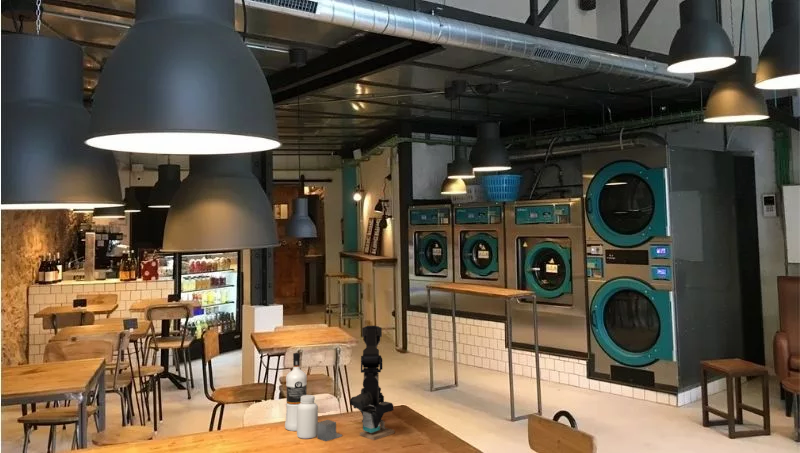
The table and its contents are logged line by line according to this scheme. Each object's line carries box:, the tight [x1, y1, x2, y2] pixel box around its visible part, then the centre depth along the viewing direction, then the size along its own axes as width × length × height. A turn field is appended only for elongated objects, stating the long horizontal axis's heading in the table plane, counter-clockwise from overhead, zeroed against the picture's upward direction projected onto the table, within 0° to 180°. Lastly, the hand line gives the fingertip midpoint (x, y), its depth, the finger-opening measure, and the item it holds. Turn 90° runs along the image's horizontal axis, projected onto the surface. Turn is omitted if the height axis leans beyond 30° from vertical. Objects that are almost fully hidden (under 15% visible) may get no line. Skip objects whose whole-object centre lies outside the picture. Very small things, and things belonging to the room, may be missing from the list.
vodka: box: [284, 352, 308, 432], centre depth 228 cm, size 9×9×30 cm
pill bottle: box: [296, 394, 319, 439], centre depth 218 cm, size 8×8×15 cm
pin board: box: [359, 420, 395, 441], centre depth 218 cm, size 8×11×4 cm
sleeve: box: [362, 409, 381, 433], centre depth 216 cm, size 5×5×7 cm
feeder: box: [316, 419, 343, 442], centre depth 215 cm, size 5×8×6 cm, turn 137°
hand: (371, 426), depth 216 cm, fingers closed on sleeve, 4 cm apart
